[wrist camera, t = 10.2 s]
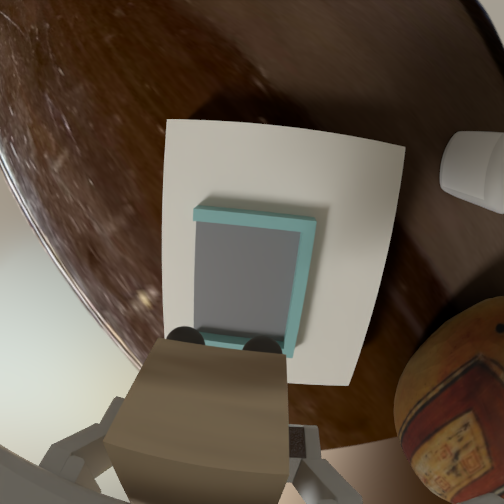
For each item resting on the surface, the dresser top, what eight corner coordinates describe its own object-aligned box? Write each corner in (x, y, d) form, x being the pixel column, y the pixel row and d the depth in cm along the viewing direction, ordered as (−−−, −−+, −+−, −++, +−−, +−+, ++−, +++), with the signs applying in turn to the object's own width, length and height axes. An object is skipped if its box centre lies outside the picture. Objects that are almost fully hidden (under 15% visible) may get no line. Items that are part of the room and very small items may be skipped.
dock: (183, 122, 23) (161, 118, 18) (386, 146, 23) (412, 147, 18) (178, 341, 30) (163, 375, 25) (341, 358, 29) (350, 394, 24)
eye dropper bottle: (422, 163, 23) (516, 184, 11) (461, 124, 21) (559, 126, 10) (448, 202, 24) (539, 245, 12) (485, 164, 22) (580, 187, 11)
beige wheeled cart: (170, 315, 12) (102, 441, 6) (285, 330, 12) (289, 474, 6) (176, 414, 14) (140, 521, 8) (267, 426, 14) (260, 541, 8)
